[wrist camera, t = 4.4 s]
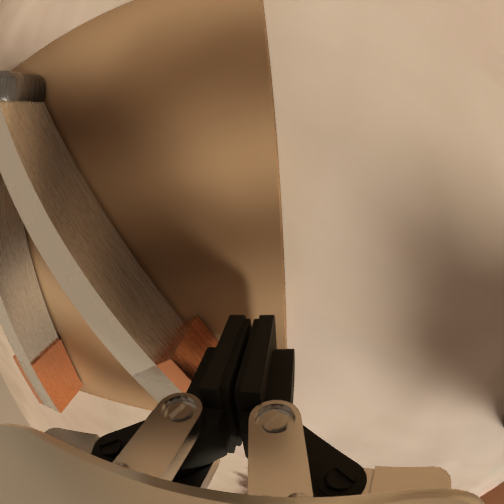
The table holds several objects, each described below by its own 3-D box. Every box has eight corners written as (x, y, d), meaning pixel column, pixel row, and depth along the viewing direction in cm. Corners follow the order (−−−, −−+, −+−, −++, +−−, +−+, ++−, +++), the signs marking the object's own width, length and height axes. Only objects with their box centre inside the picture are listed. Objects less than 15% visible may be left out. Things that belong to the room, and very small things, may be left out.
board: (-1, 92, 11) (-13, 92, 10) (260, -17, 8) (256, -30, 7) (60, 371, 18) (52, 380, 17) (287, 411, 15) (285, 426, 14)
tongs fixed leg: (-4, 138, 11) (-41, 143, 8) (14, 126, 10) (-27, 129, 8) (61, 378, 16) (39, 402, 13) (83, 385, 16) (61, 412, 13)
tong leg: (12, 103, 10) (-28, 104, 7) (39, 62, 9) (-2, 56, 6) (203, 393, 14) (185, 436, 11) (250, 377, 13) (238, 426, 10)
